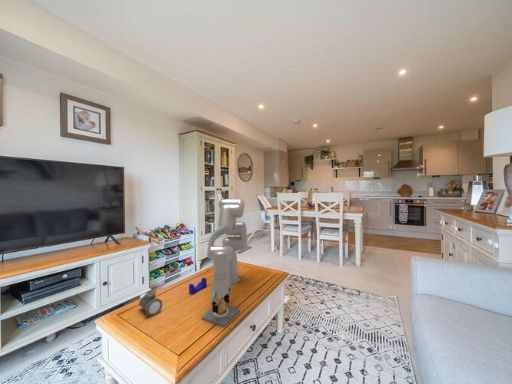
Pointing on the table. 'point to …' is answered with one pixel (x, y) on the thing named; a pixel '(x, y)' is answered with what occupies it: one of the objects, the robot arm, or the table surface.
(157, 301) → the pipe fitting
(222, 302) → the tan wooden peg
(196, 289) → the cable clip
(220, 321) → the plate
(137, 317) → the table surface
